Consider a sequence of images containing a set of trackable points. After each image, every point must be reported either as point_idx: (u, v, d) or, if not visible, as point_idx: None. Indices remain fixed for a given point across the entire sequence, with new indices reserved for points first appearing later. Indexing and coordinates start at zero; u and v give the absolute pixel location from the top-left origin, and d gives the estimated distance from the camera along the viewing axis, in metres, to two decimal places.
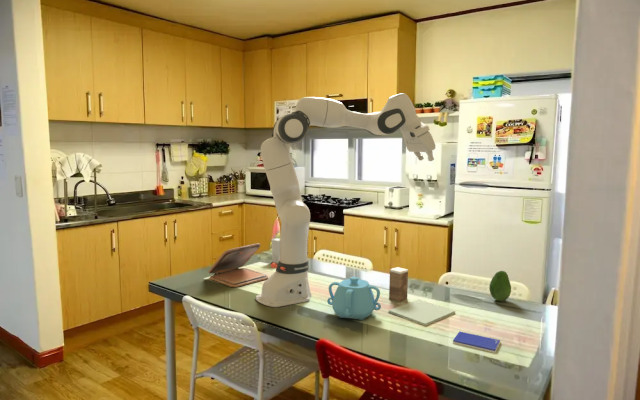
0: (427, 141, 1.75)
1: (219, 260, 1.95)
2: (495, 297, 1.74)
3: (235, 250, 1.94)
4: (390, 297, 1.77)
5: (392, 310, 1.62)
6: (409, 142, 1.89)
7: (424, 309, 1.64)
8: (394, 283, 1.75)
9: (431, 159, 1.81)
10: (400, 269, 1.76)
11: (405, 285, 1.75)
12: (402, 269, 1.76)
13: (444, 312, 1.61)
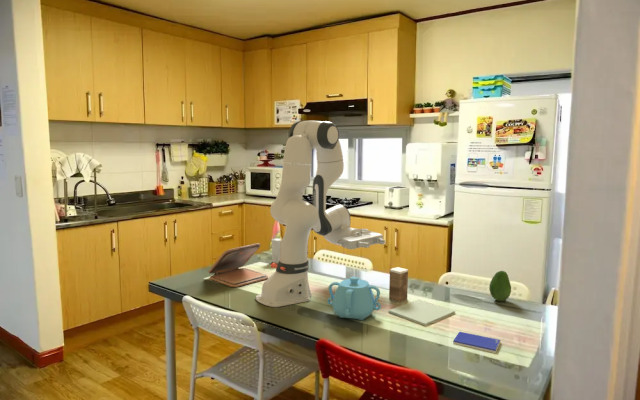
0: None
1: (219, 260, 1.95)
2: (495, 297, 1.74)
3: (235, 250, 1.94)
4: (390, 297, 1.77)
5: (392, 310, 1.62)
6: (352, 238, 1.87)
7: (424, 309, 1.64)
8: (394, 283, 1.75)
9: None
10: (400, 269, 1.76)
11: (405, 285, 1.75)
12: (402, 269, 1.76)
13: (444, 312, 1.61)
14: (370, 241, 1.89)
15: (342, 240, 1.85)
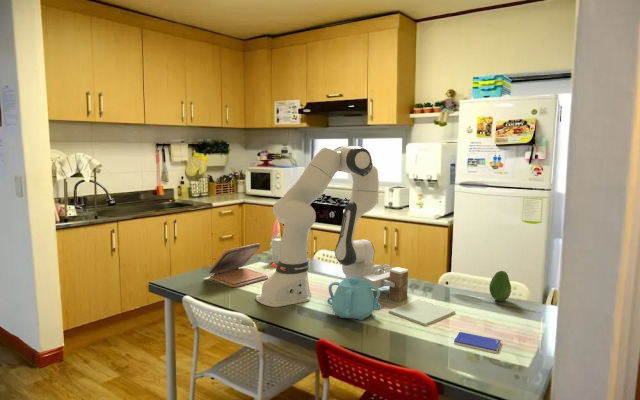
0: None
1: (219, 260, 1.95)
2: (495, 297, 1.74)
3: (235, 250, 1.94)
4: (390, 297, 1.77)
5: (392, 310, 1.62)
6: (374, 276, 1.79)
7: (424, 309, 1.64)
8: None
9: None
10: (400, 269, 1.75)
11: (405, 285, 1.75)
12: (402, 269, 1.75)
13: (444, 312, 1.61)
14: None
15: (364, 279, 1.77)
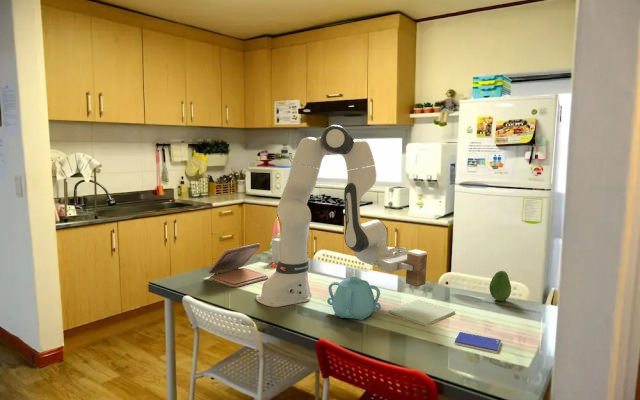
0: None
1: (219, 260, 1.95)
2: (495, 297, 1.74)
3: (235, 250, 1.94)
4: (406, 282, 1.63)
5: (392, 310, 1.62)
6: (390, 259, 1.66)
7: (424, 309, 1.64)
8: None
9: None
10: (419, 251, 1.62)
11: (423, 269, 1.62)
12: (421, 251, 1.62)
13: (444, 312, 1.61)
14: None
15: (379, 261, 1.63)
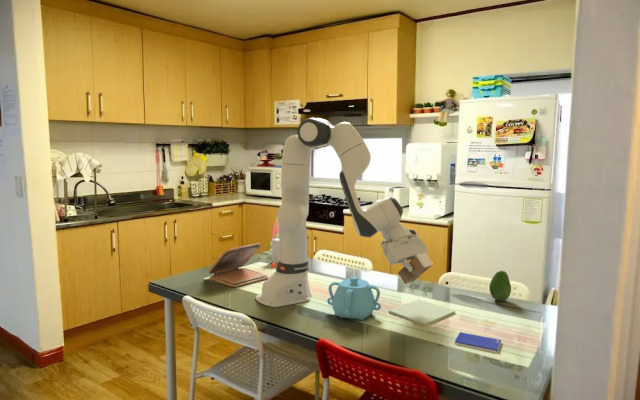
0: None
1: (219, 260, 1.95)
2: (495, 297, 1.74)
3: (235, 250, 1.94)
4: (399, 272, 1.66)
5: (392, 310, 1.62)
6: (398, 248, 1.62)
7: (424, 309, 1.64)
8: None
9: None
10: (426, 260, 1.60)
11: (420, 273, 1.63)
12: (428, 261, 1.60)
13: (444, 312, 1.61)
14: (413, 256, 1.67)
15: (387, 248, 1.60)
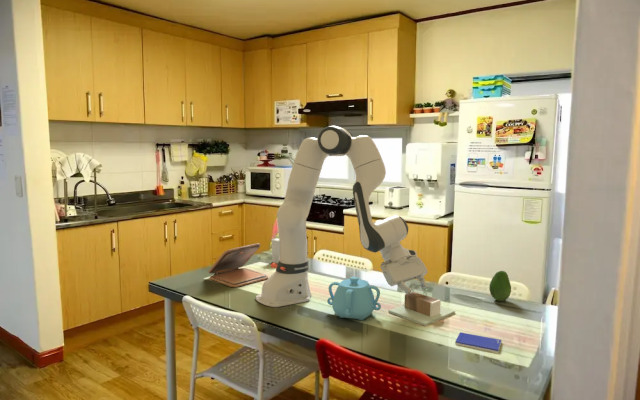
0: None
1: (219, 260, 1.95)
2: (495, 297, 1.74)
3: (235, 250, 1.94)
4: (405, 296, 1.64)
5: (392, 310, 1.62)
6: (397, 269, 1.63)
7: None
8: (419, 306, 1.60)
9: None
10: (436, 309, 1.58)
11: None
12: (437, 310, 1.58)
13: (444, 312, 1.61)
14: None
15: (387, 269, 1.61)
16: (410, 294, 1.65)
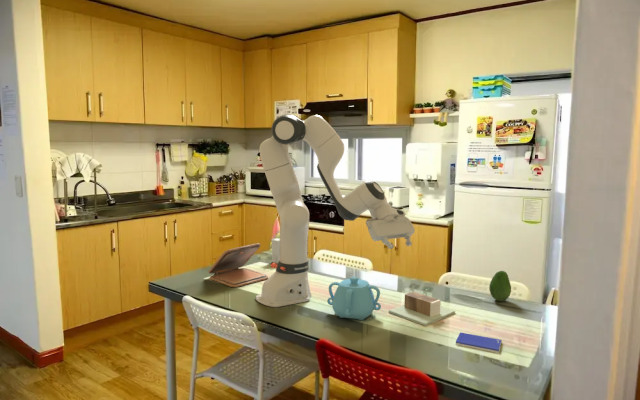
0: None
1: (219, 260, 1.95)
2: (495, 297, 1.74)
3: (235, 250, 1.94)
4: (405, 296, 1.64)
5: (392, 310, 1.62)
6: (382, 225, 1.71)
7: None
8: (419, 306, 1.60)
9: None
10: (436, 309, 1.58)
11: None
12: (437, 310, 1.58)
13: (444, 312, 1.61)
14: (398, 234, 1.74)
15: (371, 225, 1.69)
16: (410, 294, 1.65)
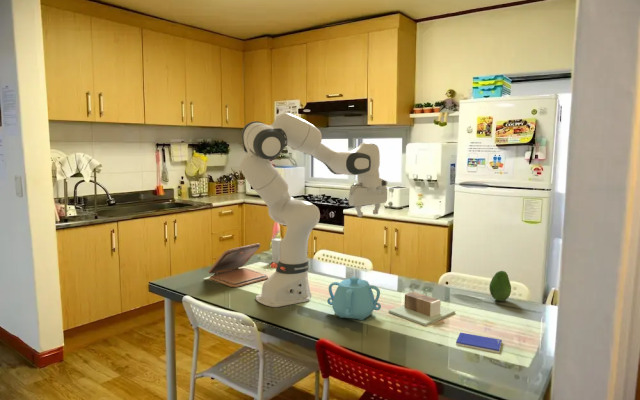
0: None
1: (219, 260, 1.95)
2: (495, 297, 1.74)
3: (235, 250, 1.94)
4: (405, 296, 1.64)
5: (392, 310, 1.62)
6: (362, 194, 1.82)
7: None
8: (419, 306, 1.60)
9: None
10: (436, 309, 1.58)
11: None
12: (437, 310, 1.58)
13: (444, 312, 1.61)
14: None
15: (354, 192, 1.79)
16: (410, 294, 1.65)
